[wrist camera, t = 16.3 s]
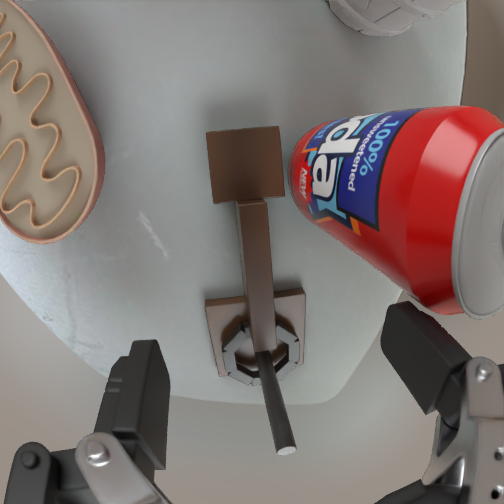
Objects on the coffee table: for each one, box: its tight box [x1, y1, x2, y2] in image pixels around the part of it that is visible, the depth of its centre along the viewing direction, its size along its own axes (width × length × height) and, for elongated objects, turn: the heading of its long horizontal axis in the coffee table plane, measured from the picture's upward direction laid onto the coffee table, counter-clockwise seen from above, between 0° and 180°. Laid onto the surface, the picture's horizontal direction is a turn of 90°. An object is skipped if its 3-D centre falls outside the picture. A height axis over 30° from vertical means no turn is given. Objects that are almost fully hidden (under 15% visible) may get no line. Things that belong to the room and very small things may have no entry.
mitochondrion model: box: [0, 0, 105, 244], centre depth 12 cm, size 23×10×5 cm, turn 35°
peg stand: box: [205, 288, 306, 455], centre depth 19 cm, size 8×8×12 cm
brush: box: [206, 126, 300, 386], centre depth 20 cm, size 6×21×4 cm, turn 4°
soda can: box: [288, 106, 504, 320], centre depth 13 cm, size 8×8×15 cm
